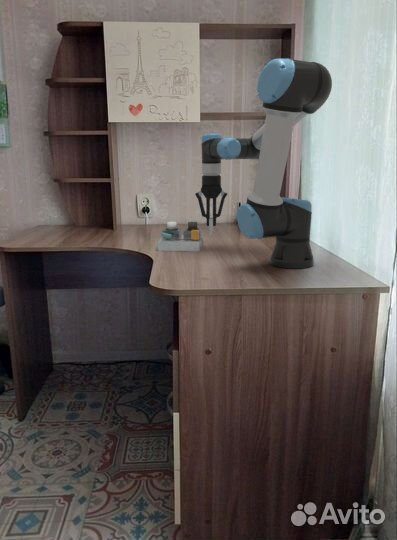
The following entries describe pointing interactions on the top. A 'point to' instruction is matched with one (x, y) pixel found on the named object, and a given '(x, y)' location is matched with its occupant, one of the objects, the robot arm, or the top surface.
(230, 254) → the top surface
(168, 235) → the teal rectangular block
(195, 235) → the slider knob
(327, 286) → the top surface
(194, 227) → the button
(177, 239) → the panel
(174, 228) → the button
